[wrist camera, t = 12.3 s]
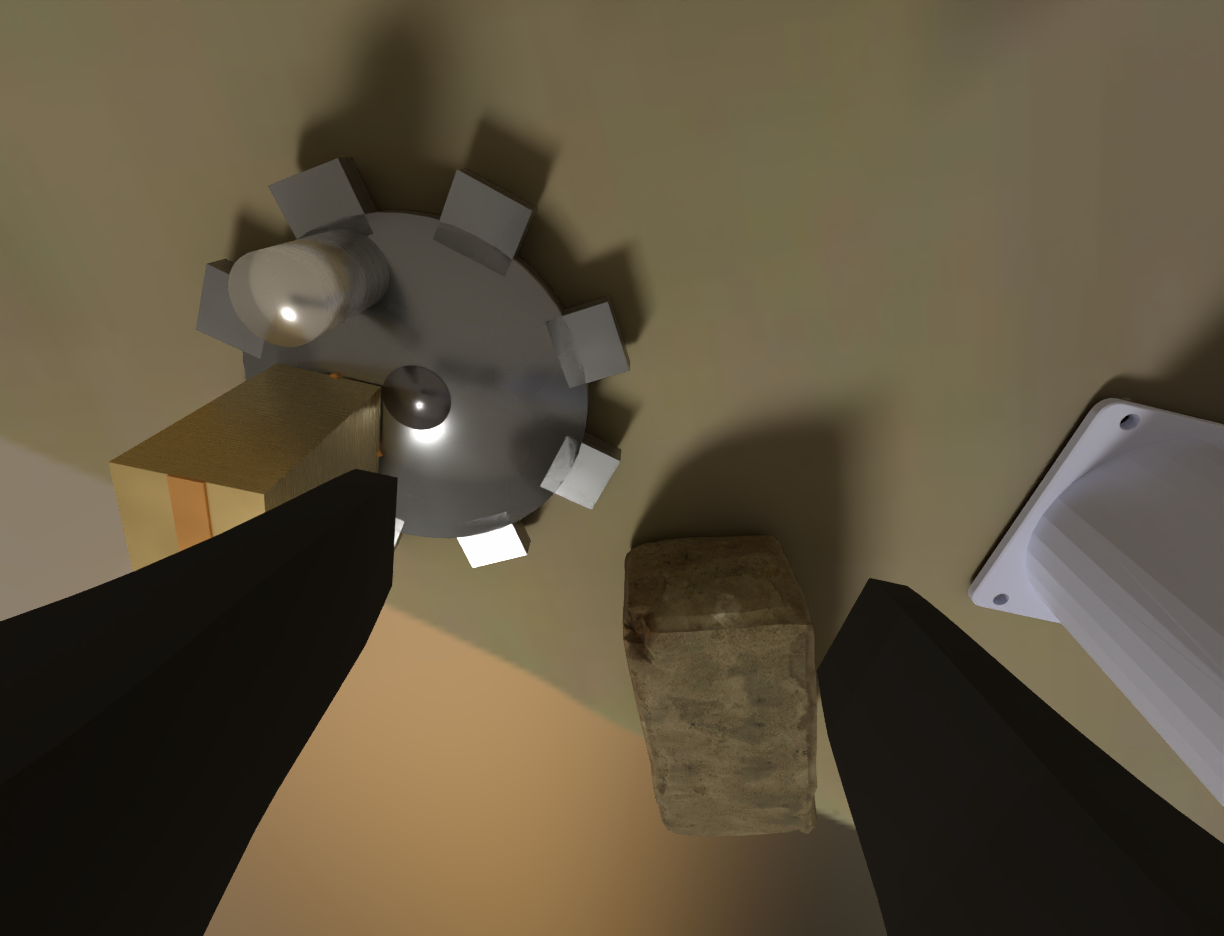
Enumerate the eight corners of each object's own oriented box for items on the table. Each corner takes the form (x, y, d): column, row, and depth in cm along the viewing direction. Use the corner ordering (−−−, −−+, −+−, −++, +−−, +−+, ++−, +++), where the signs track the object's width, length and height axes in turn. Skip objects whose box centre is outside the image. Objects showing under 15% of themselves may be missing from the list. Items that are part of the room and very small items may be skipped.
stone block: (781, 510, 20) (821, 612, 16) (795, 728, 25) (827, 849, 21) (616, 531, 21) (609, 634, 16) (663, 739, 26) (668, 858, 22)
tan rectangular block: (381, 386, 17) (262, 495, 12) (376, 513, 19) (275, 654, 14) (276, 362, 17) (105, 463, 11) (283, 493, 19) (144, 629, 14)
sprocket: (541, 82, 14) (503, 56, 10) (675, 505, 19) (683, 594, 16) (125, 247, 16) (-36, 278, 12) (351, 584, 22) (288, 678, 18)
